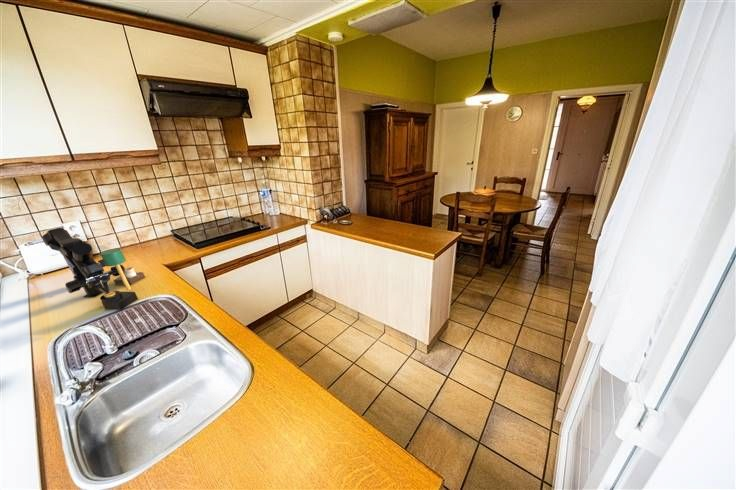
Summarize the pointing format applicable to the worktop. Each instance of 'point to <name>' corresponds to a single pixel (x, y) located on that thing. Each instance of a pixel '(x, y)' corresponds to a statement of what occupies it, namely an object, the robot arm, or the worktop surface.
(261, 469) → the worktop surface
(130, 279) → the dimmer panel
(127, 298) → the lamp base
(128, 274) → the dimmer
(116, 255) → the lamp
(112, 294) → the lamp button
